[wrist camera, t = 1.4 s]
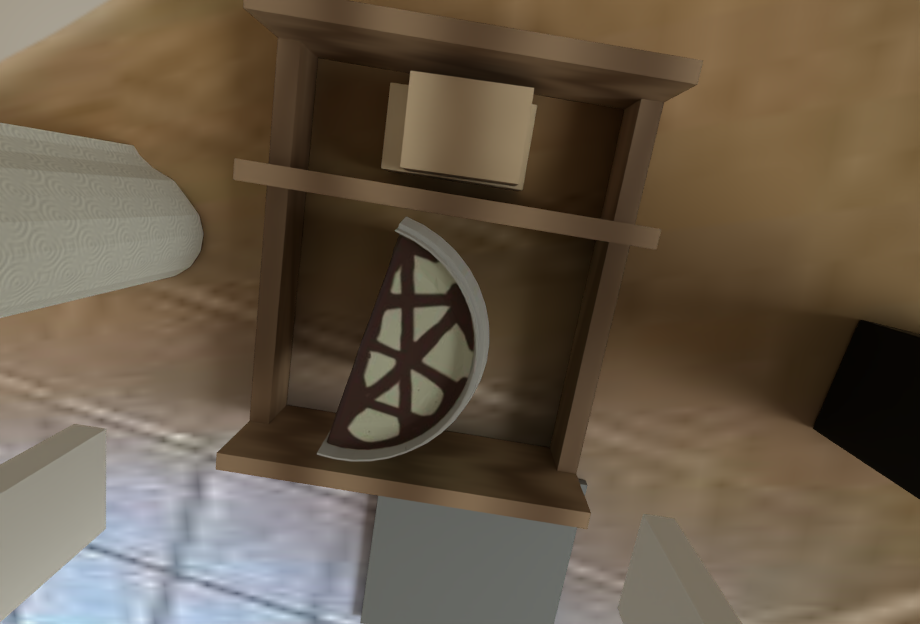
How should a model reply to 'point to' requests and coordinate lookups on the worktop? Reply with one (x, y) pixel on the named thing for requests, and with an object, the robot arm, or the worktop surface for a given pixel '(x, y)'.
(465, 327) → the food container
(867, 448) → the black bar
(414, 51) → the rack
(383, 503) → the mat
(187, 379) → the worktop surface
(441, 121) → the offcut upper
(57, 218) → the paper towel roll
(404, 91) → the offcut lower
